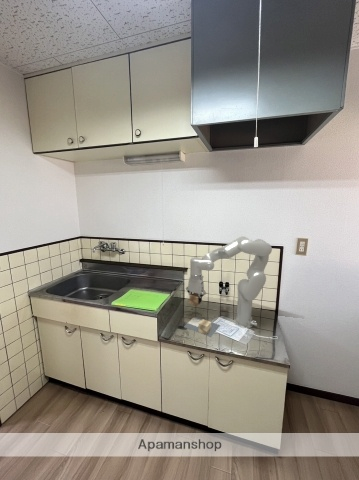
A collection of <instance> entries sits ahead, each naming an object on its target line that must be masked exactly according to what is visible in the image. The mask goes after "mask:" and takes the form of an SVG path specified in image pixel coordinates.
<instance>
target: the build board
mask: <svg viewBox="0 0 359 480" xmlns="http://www.w3.org/2000/svg"><path fill="white" fill-rule="evenodd" d="M202 320H203V318H201V317H197V316H193V317H192V318H191V319H190V320H189V321H188V322H186V324H185V325H183V327H184V328H185V329H189V330H190V331H192V332H196V333H198V334H201V335H204V336H206V337H209V338H212V337H213V335H214V334H215V333H216V332H217V330H219V328H220V327H221V325H220V324H217V323H214V322H212V321H210V322H211V331H210V332H209V333H208V334H207V335H205V334H203V333H200V332H199V323H200V322H201V321H202Z"/></svg>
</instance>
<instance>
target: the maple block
mask: <svg viewBox="0 0 359 480" xmlns="http://www.w3.org/2000/svg"><path fill="white" fill-rule="evenodd" d="M202 319H203V318H202ZM211 322H212V321H209V320H206V319H203V320H202V321H201V322H200V323H199V332H200V333H199V334H201V333H203V334H202V335H204V334H205V335H204V336H206V335H207V334H208V333H209V332H210V331H211Z"/></svg>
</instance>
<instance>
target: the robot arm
mask: <svg viewBox="0 0 359 480" xmlns="http://www.w3.org/2000/svg"><path fill="white" fill-rule="evenodd" d="M272 251H273V248H272V245H271V244H270V243H268V242H266V241H265V240H264V239H261V238H256V239H255V240H252V239H249V238H248V237H246V236H239V237H237V238H236V239H234V240H233V241H231V242H229V243H227V244H226V245H224V246H222V247H218V248H215V249H213V250H211V251H210V252H208V253H206V254H204V255H203V256H202V258H200V257H192V258H191V259H190V264H189V265H190V266H189V270H190V271H189V272H190V274H189V278H188V283H187V286H186V287H185V290H186V291H187V293H188V296H190V295H191V294H193V293H197V294H198V295H199V298H198V303H200V302H201V303H202V301H203V297H204V296H205V295H207V292H206V290H205V285H204V275H203V274H202V272H203V271H207V272H210V271H212V270H214V268H215V262H216V261H218V260H222V259H231V258H233V257H235V256H236V255H239V254H240V253H241V252H242V253H243V254H247V255H252V256H254V257H253V260H252V262H251V264H250V265H249V268H247V270H246V276H247V278H248V279H246V278H243V279H241V280H239V281H238V283H237V305H236V306H237V308H236V318H234V319H233V321H234V324H235V325H236V326H238V327H239V328H245V329H250V328H252V327H253V326H255V327H258V323H257V321H256V320H254V319H253V317H252V313H253V312H252V311H253V310H252V309H253V301H254V300H255V299H256V298H257V297H258V296H259V294H260V293H261V291H262V289H263V287H264V286H265V284H266V282H267V276H266V273H265V272H264V271H265V269H266V267H267V265H268V263H269V260H270V259H269V258H270V255H271V254H272Z"/></svg>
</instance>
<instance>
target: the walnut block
mask: <svg viewBox="0 0 359 480" xmlns="http://www.w3.org/2000/svg"><path fill="white" fill-rule="evenodd" d="M198 298H199V295H198V294H197V293H194V292H193V293H192V294H191V295H189V298H188V299H189V300H188V302H189V305H191V306H194V307H198V306H199V305H201V304H202V302H200V303H198Z"/></svg>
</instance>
